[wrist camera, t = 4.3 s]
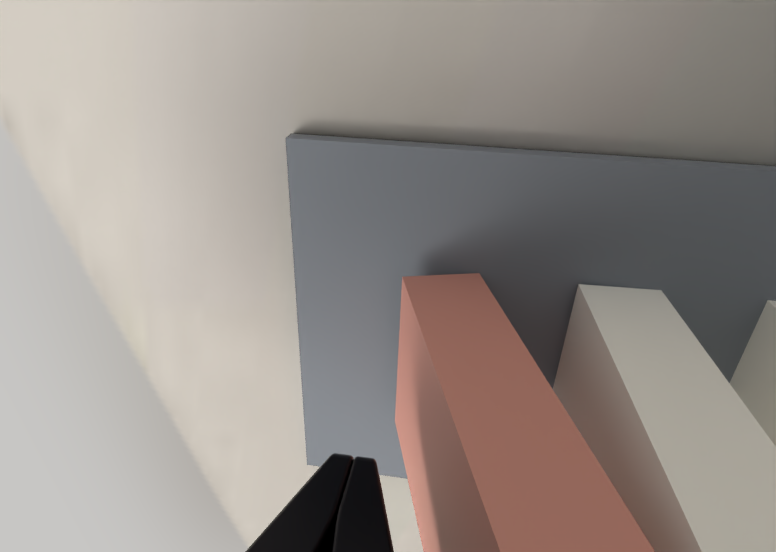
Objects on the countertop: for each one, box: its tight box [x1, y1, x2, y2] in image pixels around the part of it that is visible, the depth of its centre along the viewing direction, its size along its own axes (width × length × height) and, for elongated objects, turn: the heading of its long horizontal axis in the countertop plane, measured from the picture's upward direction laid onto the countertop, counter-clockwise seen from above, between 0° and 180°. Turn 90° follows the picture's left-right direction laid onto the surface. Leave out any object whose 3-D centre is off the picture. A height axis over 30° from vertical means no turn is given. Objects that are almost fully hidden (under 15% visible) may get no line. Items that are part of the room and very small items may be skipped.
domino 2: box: [553, 284, 776, 552], centre depth 9 cm, size 4×2×9 cm, turn 178°
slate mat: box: [286, 134, 776, 479], centre depth 12 cm, size 10×23×1 cm, turn 88°
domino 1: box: [395, 273, 655, 552], centre depth 9 cm, size 4×2×9 cm, turn 179°
